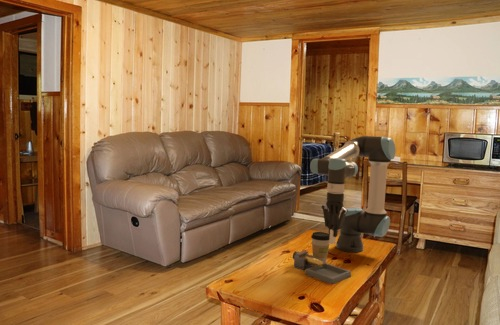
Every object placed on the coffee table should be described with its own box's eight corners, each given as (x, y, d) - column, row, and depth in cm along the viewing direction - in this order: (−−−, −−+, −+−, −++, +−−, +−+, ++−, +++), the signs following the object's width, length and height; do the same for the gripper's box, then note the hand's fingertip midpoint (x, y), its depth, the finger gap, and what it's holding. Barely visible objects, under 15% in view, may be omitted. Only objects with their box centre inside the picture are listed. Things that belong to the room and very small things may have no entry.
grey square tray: (324, 267, 201) (324, 262, 201) (350, 276, 191) (351, 271, 190) (305, 274, 191) (305, 269, 191) (332, 284, 180) (332, 279, 180)
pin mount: (302, 264, 205) (303, 250, 204) (312, 267, 200) (313, 253, 200) (293, 267, 200) (294, 252, 199) (303, 270, 195) (304, 256, 195)
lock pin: (298, 258, 205) (298, 250, 205) (324, 267, 193) (325, 258, 193) (292, 260, 202) (292, 251, 201) (319, 270, 190) (319, 260, 190)
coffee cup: (329, 267, 202) (331, 237, 200) (309, 265, 204) (310, 235, 202) (329, 260, 211) (331, 232, 210) (310, 258, 213) (311, 230, 212)
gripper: (318, 190, 187) (315, 241, 189) (343, 195, 177) (339, 248, 180) (328, 189, 192) (325, 238, 194) (352, 193, 182) (349, 245, 185)
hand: (332, 243), depth 187 cm, fingers closed
